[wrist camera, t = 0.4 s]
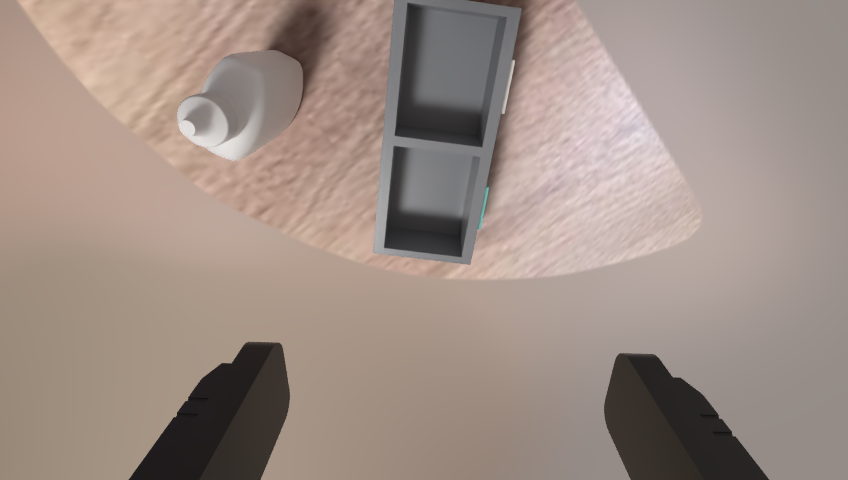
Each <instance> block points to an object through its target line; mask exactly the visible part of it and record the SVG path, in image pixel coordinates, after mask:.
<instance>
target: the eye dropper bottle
mask: <svg viewBox="0 0 848 480" xmlns="http://www.w3.org/2000/svg"><path fill="white" fill-rule="evenodd" d="M302 92H303V71H302V67H301V64H300V63H299V62H298V61H297V60H295V59H294V58H292V57H290V56H288V55H286V54H284V53H282V52H279V51H276V50H265V51H254V52H244V53H236V54H231V55H229V56H226V57H224V58H223V59H222V60H221V61H220V62H219V63H218V64H217V65H216V66H215V68H214V69H213V70H212V72H211V73H210V75H209V76H208V78H207V80H206V81H205V83H204V86H203V88H202V91H201V93H200V94H197V95H193V96H189V97H187V98H186V99H185V100H183V102H181V104H180V106H179V109H178V111H177V112H178V114H177V118H178V119H177V120H178V123H179V129H180V131H181V132H182V133H183V134H184V135H185V136H186V137H187V138H188V139H189V140H190V141H192V142H193V143H195V144H197V145H198V146H199V145H200V146H203V147H205V148H206V149H208V150H209V151H210V152H212V153H214V154H216V155H219V156H221V157H223V158H226V159H229V160H234V161H237V160H240V159H243V158H245V157H247V156H248V155H250V154H252V153H253V152H255V151H256V150H258V149H259V148H261V147H262V146H264V145H266V144H267V143H269V142H270V141H272V140H273V139H275V138H276V137H278V136H279V135H280V134H282V133H283V132H284V131H285V130H286V128H287V127H288V126H289V125H290V123H291V122H292V120H293V119H294V117H295V115H296V113H297V111H298V108H299V105H300V102H301V98H302Z"/></svg>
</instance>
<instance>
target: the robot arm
mask: <svg viewBox="0 0 848 480" xmlns="http://www.w3.org/2000/svg"><path fill="white" fill-rule="evenodd" d="M188 398H189V399H188V401H185V403H184V404H183V405H182V407H181V408H180V410H179V411H178V412H177V416H176V417H174V418H173V419H172V421H171V422H170V424H169V425H168V426H167V428H166V429H165V430H164V432H163V433H162V434H161V436H160V437H159V439H158V440H157V441H156V443H155V444H154V446H153V447H152V448H151V450H150V451H149V453H148V454H147V455H146V457H145V458H144V459H143V461H142V462H141V464H140V465H139V466H138V468H137V469H136V470H135V472H134V473H133V475H132V476H131V477H130V479H129V480H261V477H262V475H263V472H264V470H265V467H266V465H267V463H268V460H269V458H270V455H271V453H272V451H273V448H274V446H275V443H276V441H277V439H278V436H279V434H280V431H281V429H282V426H283V424H284V422H285V419H286V416H287V413H288V408H289V400H290V392H289V385H288V378H287V372H286V365H285V359H284V353H283V348H282V345H281V344H280V343H269V342H247V343H246V344H245V345H244V346H243V347H242V349H241V350H240V352H239V353H238V355H237V356H236V358H235V359H234V361H233V362H232V364H230V363H229V364H228V363H222V364H220V365H219V366H218V367H216V368H215V369H214V370H212V371H211V372H210V373H209V374H207V375H206V376H205V377H203V378H202V379H201V380H200V382H199V383H198V385H197V386H196V387H195V389H194V390H193V392H192V393H191V394H190V396H189V397H188ZM604 413H605V421H606V424H607V428H608V430H609V433H610V435H611V437H612V439H613V442H614V444H615V446H616V448H617V450H618V452H619V455H620V457H621V459H622V461H623V464H624V466H625V468H626V470H627V472H628V474H629V477H630V479H631V480H769V479H768V478H767V477H766V475H765V474H764V473H763V471H762V470H761V469H760V467H759V466H758V465H757V464H756V462H755V461H754V460H753V458H752V457H751V456H750V455H749V453H748V452H747V451H746V449H745V448H744V447H743V446H742V444H741V443H740V442H739V441H738V439H737V438H736V437H733V436H732V431H731V430H730V429H729V428H728V426H727V425H726V424H725V423H724V421H723V420H722V419H719V415H718V414H717V412H716V411H715V410H714V408H713V407H712V406H711V405H710V403H709V402H708V401H707V399H706V398H705V397H704V396H703V395H702V394H701V393H700V392H699V391H697V390H696V389H695V388H693V387H692V386H690V385H689V384H688V383H687V382H685V381H684V380H683V379H681V378H673V377H672V376H671V374H670V373H669V372H668V370H667V369H666V367H665V366H664V365H663V363H662V362H661V361H660V359H659V358H658V357H657V356H656V355H654V354H628V353H622V354H619V355H618V356H617V357H616V360H615V363H614V367H613V371H612V375H611V379H610V383H609V387H608V391H607V395H606V399H605V405H604Z"/></svg>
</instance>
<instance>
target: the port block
mask: <svg viewBox="0 0 848 480" xmlns="http://www.w3.org/2000/svg"><path fill="white" fill-rule="evenodd" d="M521 11H522V8H516V7H509V6H502V5H496V4H489V3H482V2H475V1H468V0H394V10H393V22H392V34H391V46H390V58H389V70H388V82H387V94H386V106H385V118H384V130H383V142H382V154H381V166H380V177H379V189H378V201H377V213H376V225H375V237H374V249H373V253H376V254H384V255H393V256H401V257H410V258H418V259H426V260H435V261H443V262H452V263H460V264H469V265H470V263H471V259H472V254H473V249H474V244H475V239H476V234H477V229H481V224H482V220H483V215H484V210H485V205H486V200H487V195H488V190H489V186H488V184H487V179H488V175H489V170H490V165H491V160H492V155H493V150H494V145H495V140H496V135H497V130H498V125H499V120H500V115H501V114H504V113H505V108H506V103H507V98H508V93H509V88H510V84H511V79H512V74H513V69H514V64H515V60H513V59H512V56H513V51H514V46H515V41H516V36H517V31H518V26H519V21H520V16H521Z"/></svg>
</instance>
